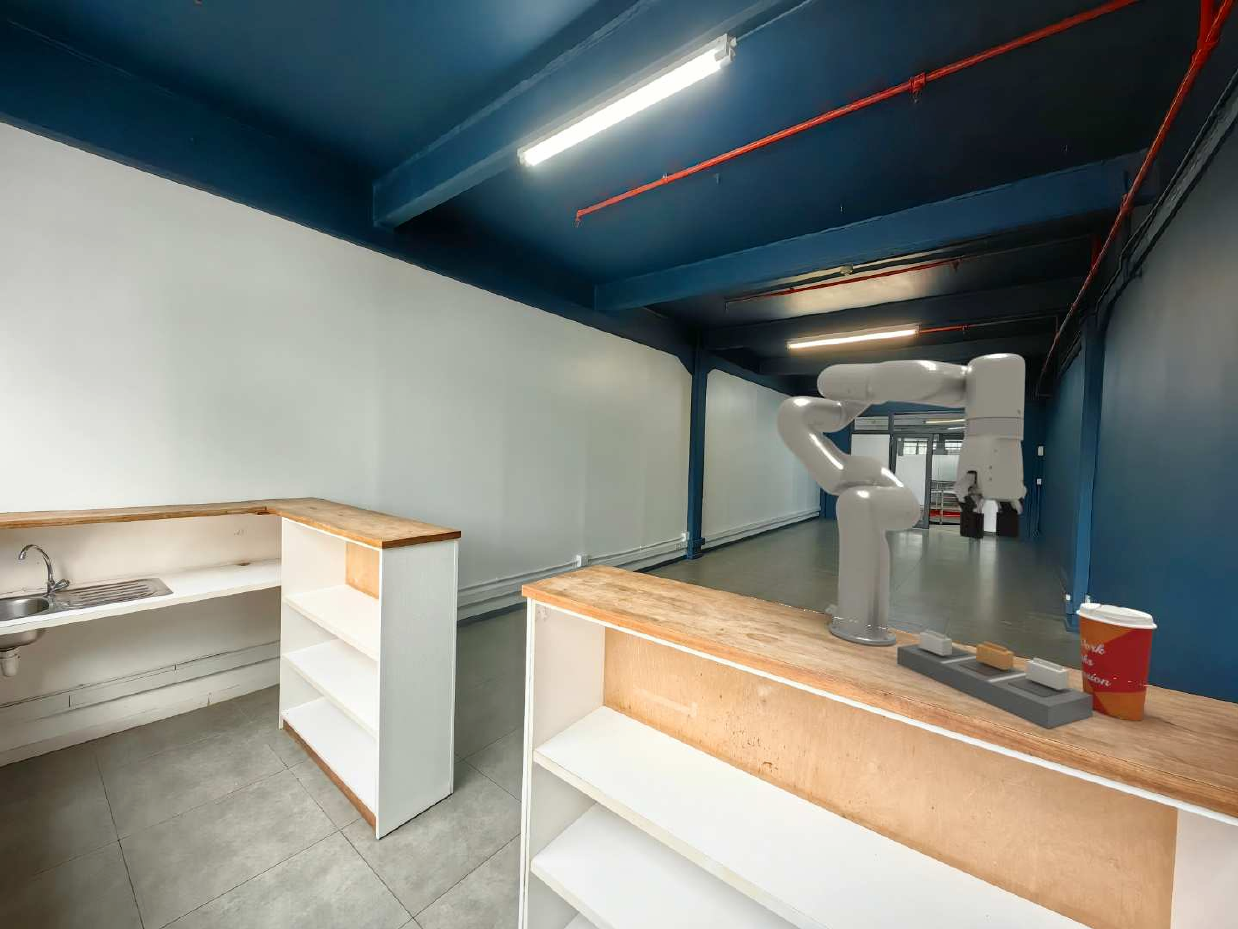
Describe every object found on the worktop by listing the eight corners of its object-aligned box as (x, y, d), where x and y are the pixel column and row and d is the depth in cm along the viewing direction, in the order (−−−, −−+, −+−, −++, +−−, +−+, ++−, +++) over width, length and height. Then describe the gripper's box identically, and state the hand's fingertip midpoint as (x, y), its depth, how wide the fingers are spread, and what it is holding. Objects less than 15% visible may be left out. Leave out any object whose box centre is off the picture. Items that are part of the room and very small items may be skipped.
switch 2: (976, 660, 77) (976, 641, 77) (985, 658, 78) (986, 640, 78) (1003, 670, 73) (1004, 650, 74) (1013, 668, 74) (1013, 648, 74)
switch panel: (897, 663, 83) (897, 646, 83) (937, 657, 87) (938, 640, 87) (1048, 728, 63) (1048, 705, 63) (1092, 716, 67) (1092, 694, 67)
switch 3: (1025, 678, 71) (1026, 657, 71) (1035, 676, 72) (1036, 656, 72) (1058, 690, 67) (1059, 668, 67) (1068, 687, 68) (1069, 666, 68)
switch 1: (919, 647, 82) (919, 629, 82) (928, 645, 83) (929, 628, 83) (941, 655, 78) (942, 637, 79) (951, 654, 79) (952, 636, 79)
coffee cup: (1070, 691, 75) (1073, 598, 75) (1146, 710, 69) (1149, 610, 70) (1077, 711, 68) (1080, 609, 68) (1162, 733, 63) (1165, 622, 63)
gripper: (999, 436, 82) (996, 533, 82) (934, 429, 76) (930, 534, 75) (1051, 434, 75) (1049, 540, 75) (985, 425, 69) (981, 541, 68)
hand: (989, 537), depth 75 cm, fingers open, 8 cm apart
